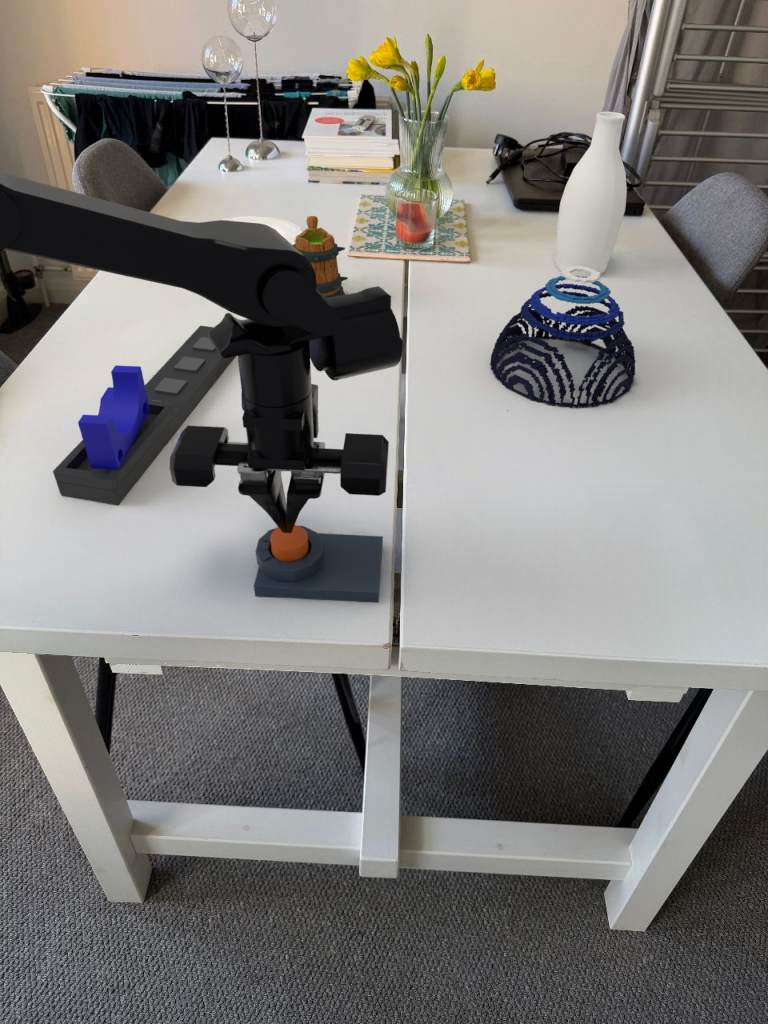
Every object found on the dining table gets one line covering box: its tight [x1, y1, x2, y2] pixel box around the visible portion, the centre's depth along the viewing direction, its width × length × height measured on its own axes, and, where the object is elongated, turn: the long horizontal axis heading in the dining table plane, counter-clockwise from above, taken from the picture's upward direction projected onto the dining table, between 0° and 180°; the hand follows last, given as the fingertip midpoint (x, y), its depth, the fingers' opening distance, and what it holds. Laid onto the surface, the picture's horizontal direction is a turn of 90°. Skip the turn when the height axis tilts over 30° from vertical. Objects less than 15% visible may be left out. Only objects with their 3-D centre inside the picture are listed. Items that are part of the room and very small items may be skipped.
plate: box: [220, 215, 304, 245], centre depth 139 cm, size 21×21×2 cm
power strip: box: [52, 325, 235, 506], centre depth 94 cm, size 39×7×3 cm, turn 167°
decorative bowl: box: [489, 265, 637, 409], centre depth 101 cm, size 20×20×14 cm
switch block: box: [253, 525, 384, 603], centre depth 73 cm, size 12×8×3 cm, turn 87°
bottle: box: [554, 111, 628, 277], centre depth 126 cm, size 11×11×25 cm
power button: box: [270, 524, 308, 562], centre depth 71 cm, size 4×4×2 cm
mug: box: [293, 215, 348, 298], centre depth 119 cm, size 13×10×12 cm
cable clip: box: [77, 364, 150, 470], centre depth 82 cm, size 12×4×6 cm, turn 178°
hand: (288, 530), depth 70 cm, fingers closed
